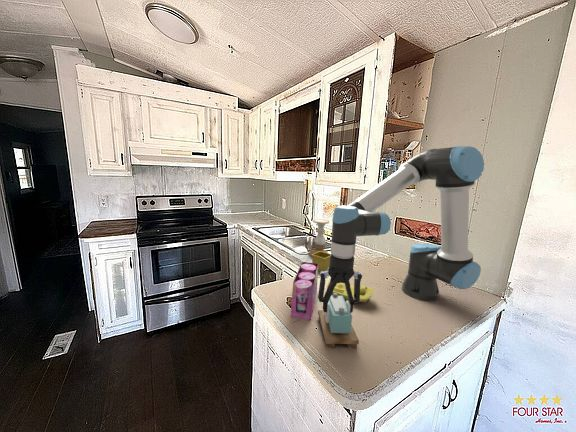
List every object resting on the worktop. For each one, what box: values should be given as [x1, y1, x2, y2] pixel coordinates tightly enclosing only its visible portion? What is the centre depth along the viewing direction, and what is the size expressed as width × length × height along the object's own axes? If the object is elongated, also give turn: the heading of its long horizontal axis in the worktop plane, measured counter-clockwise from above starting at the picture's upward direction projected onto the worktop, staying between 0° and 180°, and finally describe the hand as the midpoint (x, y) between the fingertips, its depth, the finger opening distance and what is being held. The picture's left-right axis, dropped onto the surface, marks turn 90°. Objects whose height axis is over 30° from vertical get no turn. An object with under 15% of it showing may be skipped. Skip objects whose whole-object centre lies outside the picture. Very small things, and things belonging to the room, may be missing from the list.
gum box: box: [290, 261, 319, 321], centre depth 96 cm, size 24×8×14 cm, turn 168°
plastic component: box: [326, 280, 376, 303], centre depth 104 cm, size 20×7×10 cm
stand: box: [317, 309, 360, 350], centre depth 80 cm, size 10×16×3 cm, turn 2°
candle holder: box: [307, 218, 330, 259], centre depth 151 cm, size 11×11×24 cm
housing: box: [328, 293, 353, 333], centre depth 79 cm, size 12×6×7 cm, turn 1°
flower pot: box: [311, 251, 332, 272], centre depth 132 cm, size 9×9×9 cm
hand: (336, 320), depth 80 cm, fingers closed on housing, 6 cm apart
